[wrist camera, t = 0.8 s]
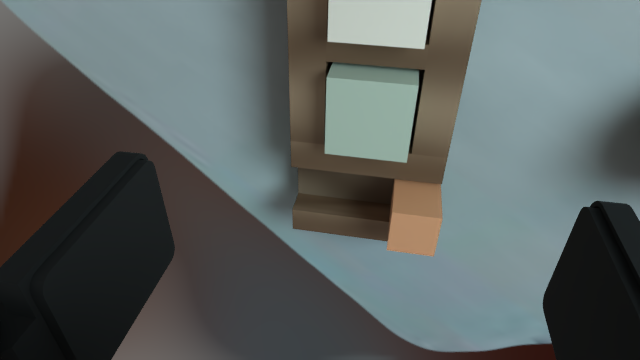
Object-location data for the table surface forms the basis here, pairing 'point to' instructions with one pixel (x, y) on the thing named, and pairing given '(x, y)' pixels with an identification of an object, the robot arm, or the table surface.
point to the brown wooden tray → (362, 173)
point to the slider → (415, 217)
